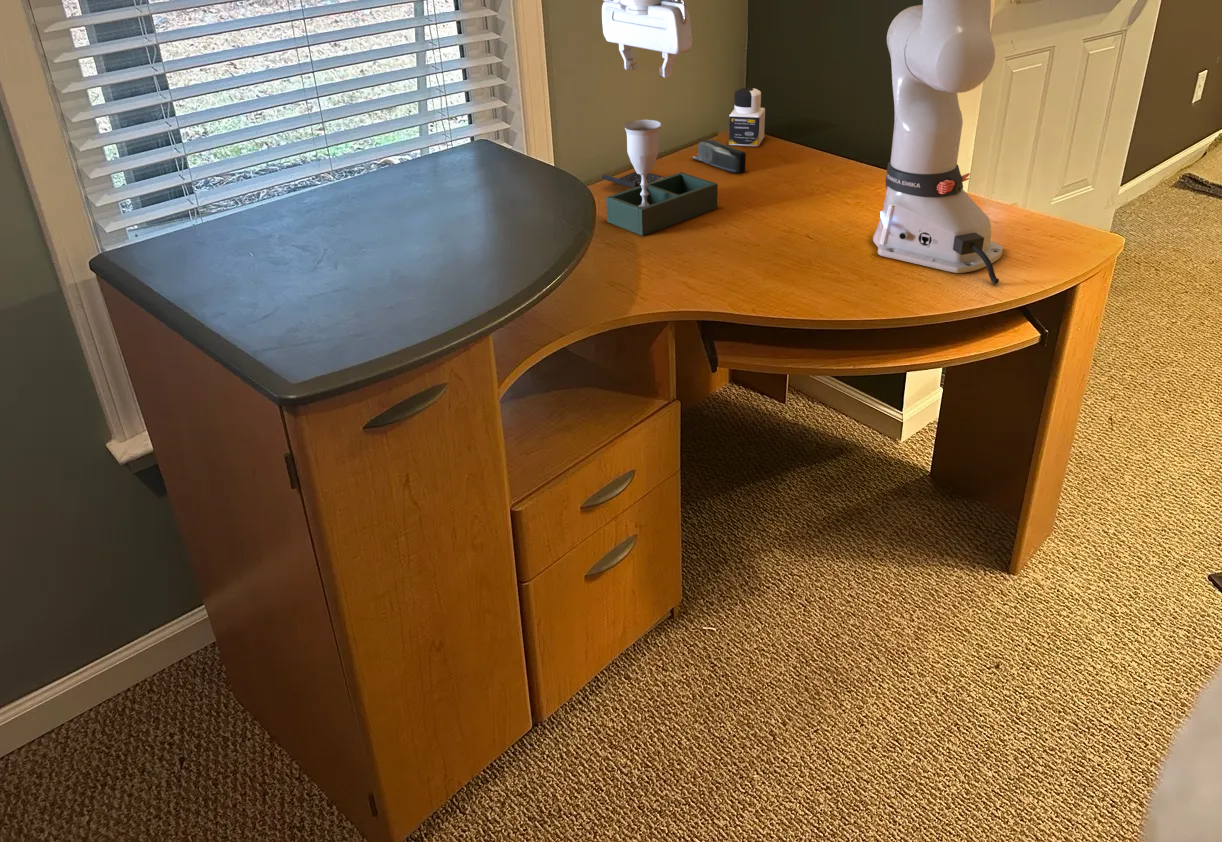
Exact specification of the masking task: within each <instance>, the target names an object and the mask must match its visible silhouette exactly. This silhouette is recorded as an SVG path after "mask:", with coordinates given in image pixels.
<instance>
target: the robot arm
mask: <svg viewBox="0 0 1222 842" xmlns="http://www.w3.org/2000/svg"><path fill="white" fill-rule="evenodd" d="M991 6H992V0H922V4H919V5H912V6H908V7H907V8H905V9H903V10H902V11H900V12H899V13H898V14H896V16H895V17H894V18H893V20H892V21H891V23H890V25H889V27H888V30H887V34H886V45H887V49H888V54H889V57H890V64H891V82H892V95H893V106H894V107H893V108H894V109H893V110H894V111H893V112H894V116H893V117H894V122H893V133H892V141H891V143H892V144H891V154H890V160H889V162H888V163H887V166H886V167H887V168H886V175H885V189H886V191H885V197H884V201H883V206H882V210H881V211H880V212H879V213H880V215H879V216H880V218H879V221H878V223H877V226H876V229H875V232H874V234H873V236H872V241H873V243H874V244H875V246H876V247H877V255H879V256H880V257H885V258H889V259H894V260H898V261H902V262H906V263H911V264H915V265H919V266H924V267H927V268H932V269H936V270H942V271H945V272H950V273H955V274H964V273H971V272H974V271H978V270H981V269H984V268H986V269H987V273H988V276H989V279H990V281H991V282H992V284H994V285H997V284H999V282H1000V279H999V278H997V276H996V274H995V269H994V265H993V264H994V263H995V262H997V261H998V260H999V259H1001V257H1002V256H1003V249H1004V248H1003V246H1002V245H1001V244H999V243H997V242H995V241H992V224H991V220H990V217H989V216H988V215H987V214H986V213H985V212H984V210H982V209H981V207H980V206H978V204H977V203H976V202H975V201H974V200H973V199H972V197H970V196H969V194H968V193H967V192H966V191H965V190H964V184H963V183H964V182H966V181H968V180H970V177H969V176H970V175H971V173H970V172H967V173H964V174H962V173H961V170H960V167H959V164H958V159H959V151H960V145H961V138H962V132H963V131H962V130H963V125H964V124H963V122H964V121H963V114H962V111H961V107H960V104H959V96H958V94H962V93H967V92H970V91H972V90H975V89H976V88H977V87H979V86H981V84H983V82H984V81H985V80H986V79H987V78H988V77H989V75H990V73H991V72H992V69H993V68H994V65H995V59H996V50H995V49H996V48H995V45H994V42H993V38H992V31H991V12H992V11H991V10H992V9H991V8H992V7H991ZM688 9H689V8H688V4H687V3H686V1H685V0H603V3H602V5H601V25H602V34H603V36H604V39H605V41H606V42H608V43H613V44H618V51H619V53H620V55H621V57H622V59H623V63H624V64H623V67H624V70H626V71H635V70H637V67H638V65H637V62H638V61H637V58H634V55H633V52H632V49H633V48H634V47H635V48H640V49H644V50H645V49H646V50H651V51H655V52H660V53H661V57H662V59H663V63H662V65H661V66H658V72H659V73H658V76H659V77H660V78H662V79H669V78H671V77H672V76H673V66H674V64H675V61H676V59H677V55H681V54H684V53H688V52H690V51H691V48H692V46H693V35H692V34H693V33H692V25H691V24H692V23H691V17H690V13H689V11H688Z"/></svg>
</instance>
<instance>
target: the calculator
mask: <svg viewBox="0 0 1222 842" xmlns="http://www.w3.org/2000/svg"><path fill="white" fill-rule="evenodd" d="M665 177H666V176H663V175H659V174H654V173H652V172H651V173H649V174H647V176H646V180H647V183H650V182H653V181H656V180H659V179H662V178H665ZM601 179H603V180H606V181H608V182H611V183H613V184H616V185H621V186H624V187H628V188H630V189H632V188H635V187H638V186H641V185H640V184H641V181H642V177H641V175H640V174H637V172H636V171H634V172H631V173H628V174H625V175H623V176H621V177H614V176H610V175H606V174H602V176H601Z"/></svg>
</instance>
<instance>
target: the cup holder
mask: <svg viewBox="0 0 1222 842" xmlns="http://www.w3.org/2000/svg"><path fill="white" fill-rule="evenodd" d="M664 177H665V178H662V179H659V180H656V181H653V182H650V183H648V186H647V192H648V193H649V194H648V196H647V202H648V203H649V206H646V207H643V208H642V207H639V205H641V203H642V196H641V195H640V193H641V192H642V187H641V186H638V187H635V188H629V189H625V190H623V191H620V192H617V193H613V194H610V195H608V196H605V203H606V206H605V207H606V221H607V223H609V224H612V225H614V226H616V227H618V228H621V229H624V230H627V231H629V232H632V233H633V234H636V235H639V236H641V237H643V236H647V235H649V234H652V233H655V232H657V231H660V230H662V229H665V228H667V227H671V226H673V225H676V224H679V223H682V222H684V221H686V220H689V219H692V218H695V217H699V216H701V215H703V214H707V213H708V212H711V211H713V210H718V200H719V199H718V195H719V193H718V191H719V190H718V189H719V188H718V187H719V185H718V183H717V182H714V181H711V180H707V179H705V178H701V177H698V176H695V175H692V174H688V173H685V172H682V171H680V172H677V173H674V174H671V175H667V176H664Z"/></svg>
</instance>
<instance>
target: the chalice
mask: <svg viewBox="0 0 1222 842" xmlns="http://www.w3.org/2000/svg"><path fill="white" fill-rule="evenodd" d="M661 126H662V123H661V122H660V121H658V120H653V119H636V120H632V121H629V122H626V123H625V124H624V125H623V128H624V130H625V132H626V149H627V150H626V151H627V152H626V153H627V155H628V158H629V160H630V163H631V164H632V167H633V168H634V170H635V171H634V172H637V174H640V175H641V177H642V181H641V184H640V185H641V187H642V192H641V193H640V195H641V196H642V203H641V205H639V207H642V208H643V207H646V206H649V203H648V202H647V196H648V194H649V193H648V192H647V186H648V183H647V180H646V176H647V174H649V173H651V174H652V172H653V168H654V166H655V164H656V162H657V158H658V155H659V151H660V138H659V137H660V136H659V134H660V133H659V131H660V129H661Z"/></svg>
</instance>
